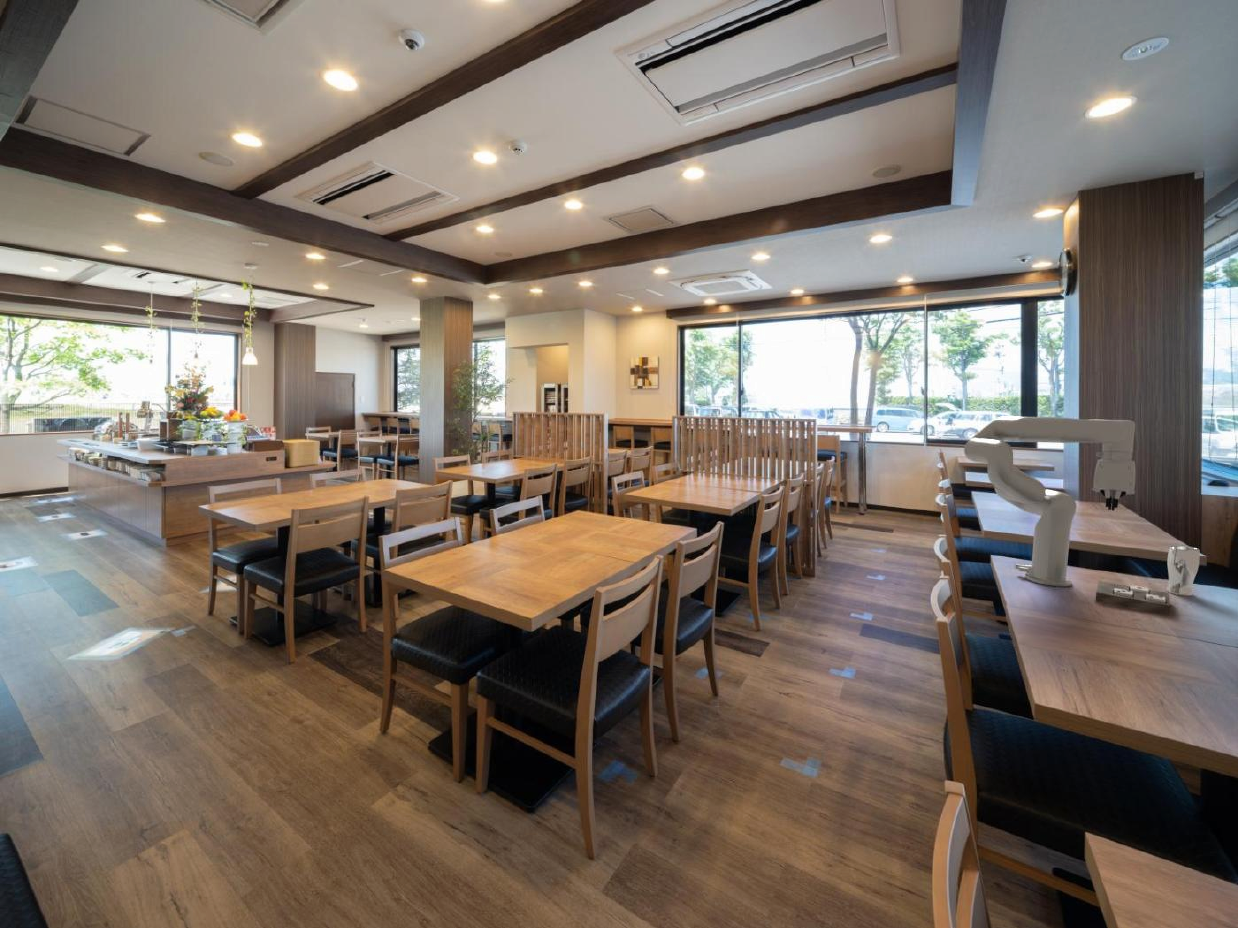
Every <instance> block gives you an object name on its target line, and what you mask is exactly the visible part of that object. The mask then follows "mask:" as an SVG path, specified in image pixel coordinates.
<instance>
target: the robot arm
mask: <svg viewBox="0 0 1238 928" xmlns="http://www.w3.org/2000/svg"><path fill="white" fill-rule="evenodd" d="M1135 430H1136V424H1135V422H1134V421H1133V420H1129V419H1081V418H1070V417H1057V416H1055V417H1053V416H1047V417H1046V416H1006V415H1005V416H1000V417H997V418H996V419H994V420H992V421H991V422H990V423H988V424H987V425H986V426H984V427H983V428H982V429H980V431H979V432H977V433H976V434H975V435H973V436H972V437H971V438H970V439H969V440H967V442H966V443H965V445H964V448H963V452H964V455H965V457H966V458H967V459H968V460H970V461H971V462H976V463H979V464H980V463H982V464H987V477H988V480H989V482H990V483H991V485H993V487H994V491H995V493H996V495H997V496H998V497H999V498H1000V499H1002V500H1004V501H1005V502H1007V503H1010V504H1011V505H1013V506H1015V507H1017V508H1019V510H1022V511H1024V512H1026V513H1029V514H1032V515H1037V516H1040V518H1039V519H1038V521H1037V522H1036V524H1035V526H1034V531H1033V544H1032V545H1033V546H1032V556H1031V564H1027V565H1024V564H1020V563H1016V564H1015V570H1018V571H1019V572H1026V573H1025V574H1024V578H1025V579H1027V580H1028V581H1031V582H1033V583H1036V584H1040V585H1045V586H1052V587H1064V588H1065V587H1070V586H1072V584H1073V583H1072V579H1070V578H1068V577H1067V573H1068V572H1067V571H1068V570H1067V569H1068V559H1069V549H1070V535H1071V529H1072V523H1073V520H1074V517H1075V515H1076V512H1077V503H1076V501H1075V499H1074V498H1073V497H1072V495H1069V494H1068V493H1066V492H1062V491H1058V490H1053V489H1048V488H1046V487H1045V485H1044V484H1043V483H1042V482H1041V481H1040V480H1039V479H1037V478H1034V477H1033V476H1031V475H1029V474H1027V473H1026V472H1024V471H1022V470H1020V469H1019V468H1017V467H1016V466H1015V464H1014V450H1013V448H1012V447H1011V445H1010V444H1009V443H1007V441H1009V442H1016V443H1017V442H1018V443H1057V444H1058V443H1059V444H1070V443H1071V444H1073V443H1075V444H1077V443H1079V444H1081V443H1082V444H1083V443H1087V444H1102V448H1101V451H1099V452H1097V451H1096V452H1095V456H1096V457H1100V459H1098V460H1097V461H1096V462H1097V463H1096V465H1095V469H1094V475H1093V476H1094V477H1093V485H1092V488H1091V490H1092V491H1093V492H1096V493H1100V494H1101V495H1102V496H1104V497H1105V498H1106V499H1105V508H1107V510H1108V511H1115V509H1118V507H1119V506H1118V505H1119V499H1121V498H1122V497H1124V496H1127V495H1128V496H1129V495H1135V493H1136V491H1135V485H1136V462H1135V461H1134V460H1133V459H1132V458H1133V452H1134V451H1133V449H1134V442H1135V441H1134V440H1135ZM1111 491H1115V495H1114V496H1113V498H1112V495H1111Z"/></svg>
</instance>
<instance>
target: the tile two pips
mask: <svg viewBox="0 0 1238 928" xmlns="http://www.w3.org/2000/svg"><path fill="white" fill-rule="evenodd" d="M1146 600H1150V601H1156V602H1162V603H1165V601H1166V600H1165V597H1163V596H1157V595H1151V594H1146Z"/></svg>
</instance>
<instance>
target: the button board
mask: <svg viewBox="0 0 1238 928" xmlns="http://www.w3.org/2000/svg"><path fill="white" fill-rule="evenodd" d="M1130 586H1131V585H1130ZM1130 586H1129V585H1125V584H1124V585H1123V584H1117V583H1112V582H1106V581H1098V584H1097V588H1096V593H1095V602H1096V603H1102V604H1107V605H1112V606H1116V607H1117V606H1118V607H1122V608H1123V607H1124V608H1127V609H1128V608H1129V609H1133V610H1137V611H1138V610H1139V611H1142V612H1143V611H1144V612H1149V613H1153V614H1159V615H1164V616H1170V611H1171V601H1170V600H1171V599H1170V593H1169V592H1166V591H1165V592H1164V591H1160V590H1159V591H1158V590H1153V589H1148V591H1149V592H1148V594H1151V595H1157V596H1163V597H1165V600H1166V601H1165V603H1162V602H1156V601H1150V600H1146V593H1140V592H1134V591H1133V593H1132V597H1128V596H1123V595H1117V594H1114V590H1115V588H1117V589H1123V590H1129V591H1130Z"/></svg>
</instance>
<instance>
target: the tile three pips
mask: <svg viewBox="0 0 1238 928" xmlns="http://www.w3.org/2000/svg"><path fill="white" fill-rule="evenodd" d="M1132 593H1133V591H1129V590H1123V589H1117V588H1115V590H1114V594H1117V595H1123V596H1128V597H1132Z"/></svg>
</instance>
